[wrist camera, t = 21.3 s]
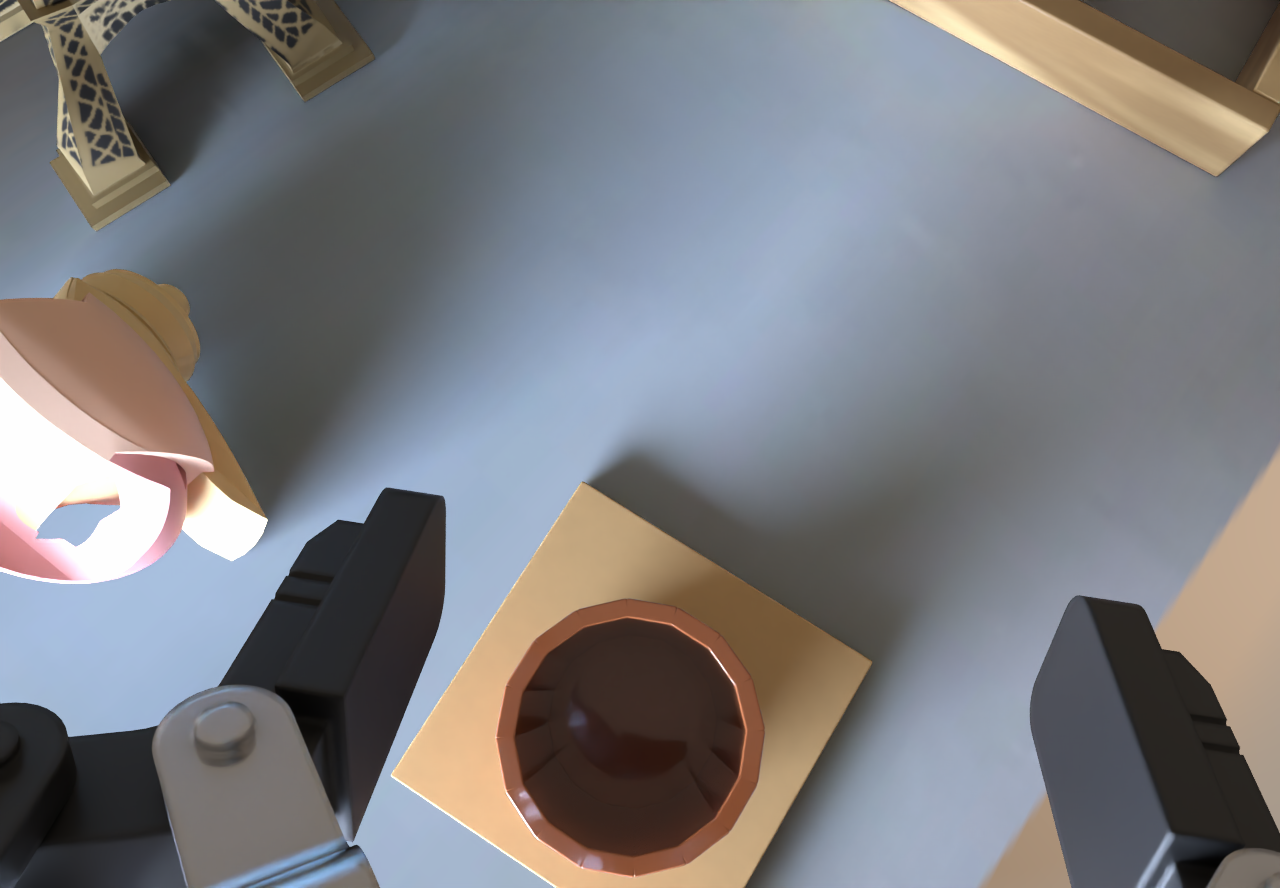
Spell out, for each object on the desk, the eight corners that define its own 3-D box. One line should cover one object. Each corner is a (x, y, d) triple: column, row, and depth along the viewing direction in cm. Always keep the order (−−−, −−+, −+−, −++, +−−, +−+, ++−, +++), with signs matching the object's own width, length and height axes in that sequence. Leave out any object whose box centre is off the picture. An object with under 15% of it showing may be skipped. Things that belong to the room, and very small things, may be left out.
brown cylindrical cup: (762, 688, 31) (812, 691, 22) (663, 857, 30) (673, 931, 21) (603, 588, 31) (590, 551, 23) (501, 750, 30) (445, 778, 22)
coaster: (870, 661, 31) (873, 661, 31) (691, 975, 30) (692, 980, 29) (582, 483, 33) (582, 480, 32) (393, 774, 31) (389, 775, 30)
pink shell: (38, 275, 35) (158, 123, 28) (269, 490, 38) (421, 396, 32) (-220, 458, 28) (-139, 313, 22) (83, 697, 31) (228, 630, 25)
